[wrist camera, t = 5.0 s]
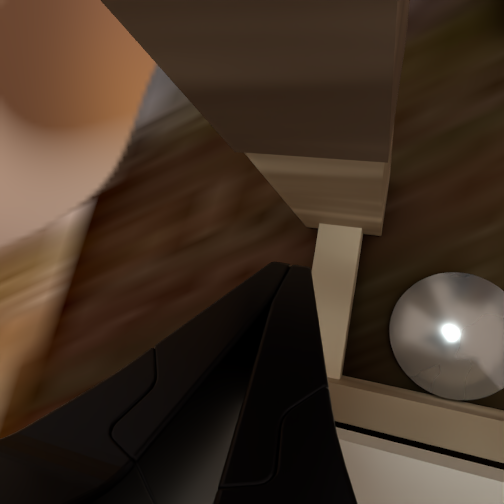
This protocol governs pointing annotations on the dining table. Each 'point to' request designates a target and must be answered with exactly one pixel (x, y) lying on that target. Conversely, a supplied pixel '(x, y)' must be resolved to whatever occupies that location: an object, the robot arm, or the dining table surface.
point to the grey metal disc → (451, 335)
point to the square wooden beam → (313, 157)
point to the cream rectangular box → (415, 474)
